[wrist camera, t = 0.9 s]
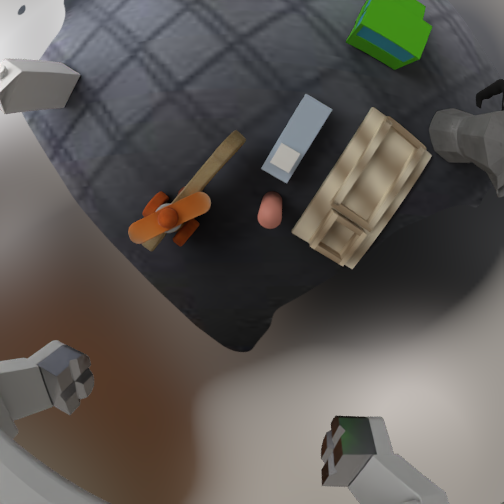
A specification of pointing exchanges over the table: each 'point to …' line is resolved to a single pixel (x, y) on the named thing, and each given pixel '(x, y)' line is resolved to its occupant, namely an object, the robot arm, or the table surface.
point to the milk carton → (34, 85)
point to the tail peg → (270, 210)
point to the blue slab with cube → (296, 138)
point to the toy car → (391, 31)
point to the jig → (363, 190)
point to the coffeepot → (473, 137)
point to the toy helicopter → (182, 202)
